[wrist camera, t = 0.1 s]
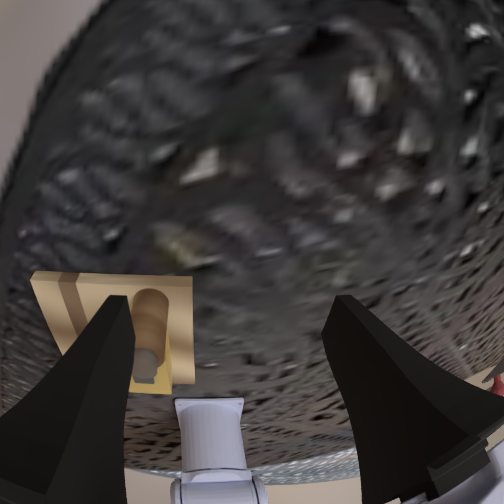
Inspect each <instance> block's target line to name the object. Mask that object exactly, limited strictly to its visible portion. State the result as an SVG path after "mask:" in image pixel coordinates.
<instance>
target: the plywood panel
mask: <svg viewBox="0 0 504 504" xmlns="http://www.w3.org/2000/svg"><path fill="white" fill-rule="evenodd" d="M30 281H31V284H32V287H33V290H34V292H35V295H36V297H37V300H38V302H39V305H40V307H41V310H42V312H43V315H44V317H45V319H46V321H47V324H48V326H49V328H50V330H51V333H52V335H53V337H54V339H55V341H56V343H57V345H58V347H59V349H60V351H61V353H62V355H64V354H65V352H66V351H67V350H68V349H69V347H70V346H71V345H72V344H73V343H74V341H75V340H76V339H77V337H78V336H79V335H80V333H81V332H82V331H83V329H84V328H85V327H86V326H87V324H88V323H89V322H90V320H91V319H92V317H93V316H94V315H95V313H96V312H97V311H98V309H99V308H100V307H101V305H102V304H103V302H104V301H105V300H106V298H107V297H108V296H109V295H127V298H128V303H129V308H130V313H131V309H132V305H133V300H134V296H135V294H136V293H137V292H138V291H140V290H142V289H146V288H152V289H156V290H159V291H161V292H162V293H164V294H165V295H166V297H167V298H168V301H169V308H168V320H167V330H168V337H169V345H170V353H171V360H172V383H180V384H195V369H194V345H193V301H192V276H154V275H121V274H94V273H71V272H51V271H35V273H34V274H33V276H32V278H31V279H30Z"/></svg>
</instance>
